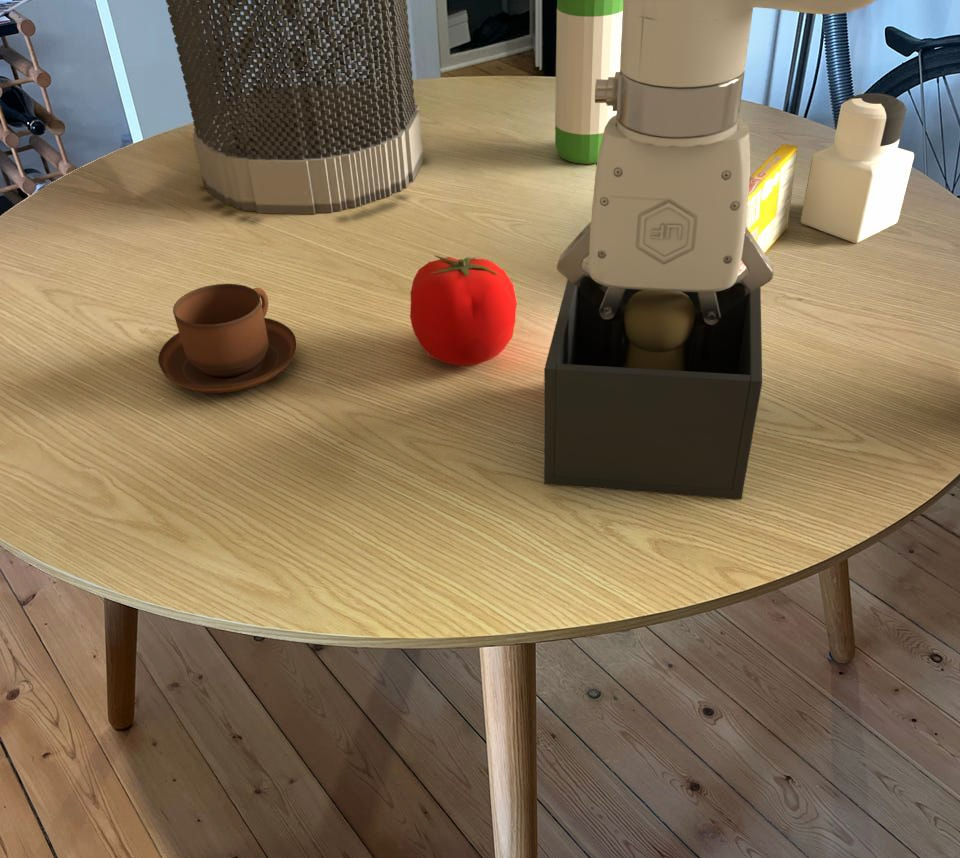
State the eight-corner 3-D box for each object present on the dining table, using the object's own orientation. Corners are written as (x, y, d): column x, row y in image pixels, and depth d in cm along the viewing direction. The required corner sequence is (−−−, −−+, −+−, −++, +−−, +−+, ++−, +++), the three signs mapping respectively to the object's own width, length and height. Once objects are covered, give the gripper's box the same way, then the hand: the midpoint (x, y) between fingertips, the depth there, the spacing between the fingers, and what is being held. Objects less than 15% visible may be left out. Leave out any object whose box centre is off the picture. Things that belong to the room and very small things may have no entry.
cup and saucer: (192, 332, 96) (175, 268, 91) (315, 337, 94) (304, 273, 89) (142, 401, 87) (121, 336, 83) (276, 409, 86) (262, 342, 81)
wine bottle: (542, 151, 123) (544, -162, 102) (597, 137, 126) (609, -171, 105) (576, 172, 119) (585, -152, 97) (632, 157, 121) (653, -162, 100)
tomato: (472, 394, 86) (467, 300, 80) (386, 356, 91) (375, 265, 85) (541, 348, 91) (541, 257, 85) (455, 315, 96) (450, 226, 90)
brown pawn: (700, 417, 81) (717, 286, 73) (669, 457, 77) (684, 324, 69) (630, 399, 83) (639, 269, 75) (597, 437, 80) (603, 305, 72)
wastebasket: (436, 131, 129) (416, -167, 108) (397, 215, 112) (364, -121, 91) (244, 130, 133) (189, -161, 111) (177, 211, 115) (96, -115, 94)
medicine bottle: (841, 203, 110) (866, 82, 101) (898, 223, 106) (930, 98, 97) (798, 223, 107) (821, 100, 98) (856, 245, 103) (884, 118, 94)
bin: (742, 392, 85) (760, 279, 78) (741, 499, 75) (762, 381, 68) (567, 381, 87) (569, 271, 80) (543, 484, 77) (544, 368, 70)
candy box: (767, 225, 107) (781, 142, 101) (787, 229, 106) (802, 145, 100) (708, 291, 97) (719, 203, 91) (730, 295, 96) (742, 207, 90)
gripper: (533, 119, 62) (534, 383, 75) (824, 126, 59) (773, 397, 72) (549, 79, 67) (548, 332, 80) (818, 83, 65) (771, 344, 77)
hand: (655, 360), depth 76 cm, fingers closed on brown pawn, 5 cm apart
